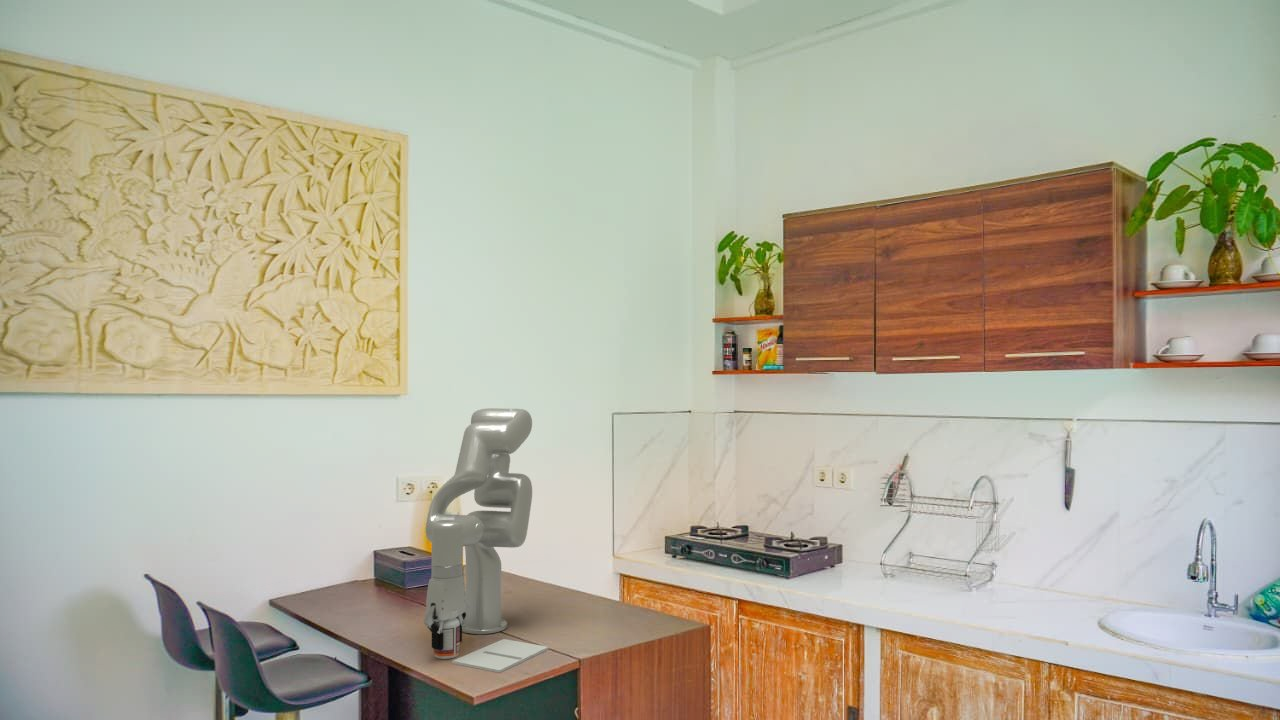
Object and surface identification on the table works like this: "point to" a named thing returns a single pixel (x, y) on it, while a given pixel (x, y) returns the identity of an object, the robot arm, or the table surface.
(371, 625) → the table surface
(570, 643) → the table surface
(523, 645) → the mat
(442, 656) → the pill bottle
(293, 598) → the table surface
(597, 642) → the table surface
